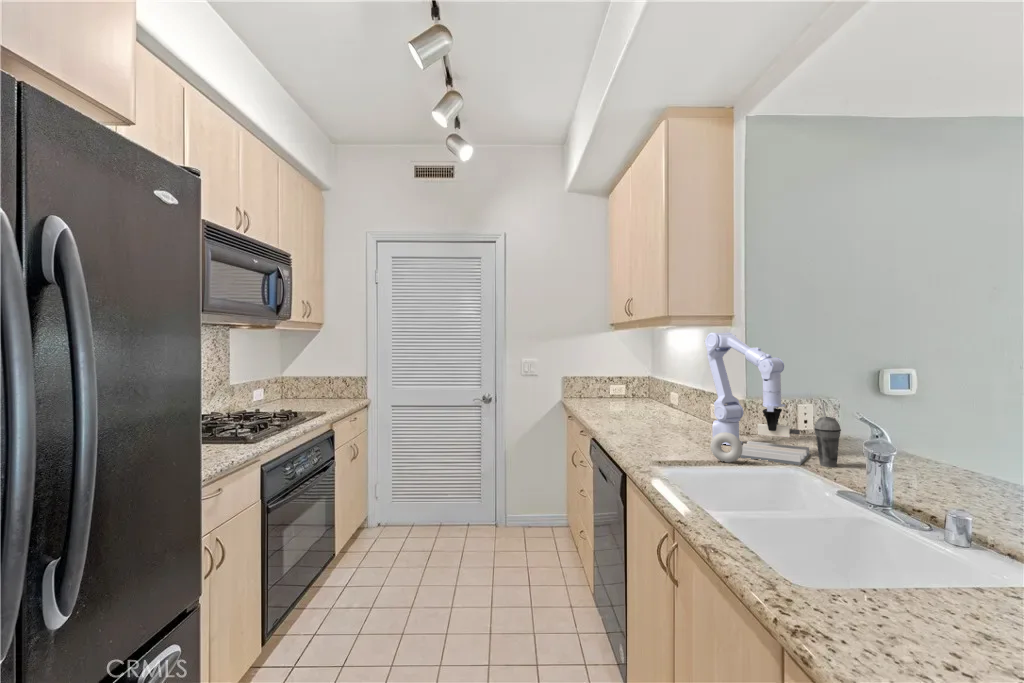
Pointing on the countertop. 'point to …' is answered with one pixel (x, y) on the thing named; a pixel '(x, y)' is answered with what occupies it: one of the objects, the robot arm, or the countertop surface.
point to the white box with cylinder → (780, 430)
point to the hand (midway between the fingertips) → (772, 429)
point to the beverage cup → (827, 440)
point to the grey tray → (775, 452)
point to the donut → (730, 439)
